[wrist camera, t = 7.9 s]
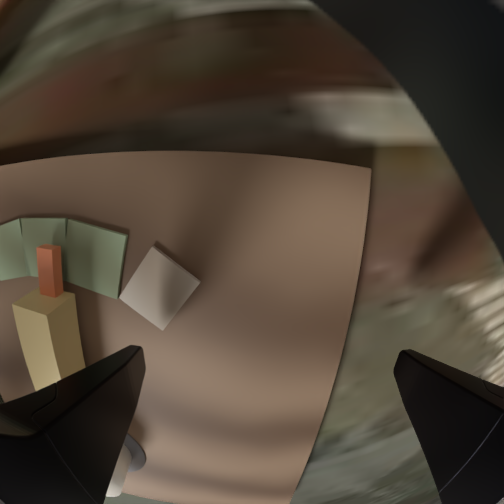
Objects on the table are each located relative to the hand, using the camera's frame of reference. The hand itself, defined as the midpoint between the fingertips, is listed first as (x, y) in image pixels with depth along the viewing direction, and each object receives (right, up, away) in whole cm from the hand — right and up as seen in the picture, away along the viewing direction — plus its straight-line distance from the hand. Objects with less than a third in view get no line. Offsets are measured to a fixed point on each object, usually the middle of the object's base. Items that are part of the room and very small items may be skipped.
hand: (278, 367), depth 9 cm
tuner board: (-8, -3, +3) cm, 9 cm away
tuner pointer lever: (-9, -3, +2) cm, 10 cm away
